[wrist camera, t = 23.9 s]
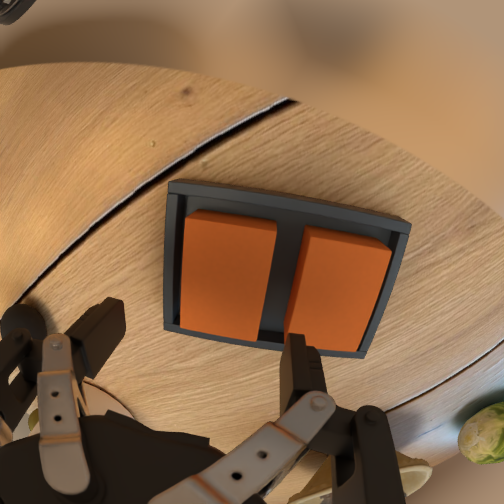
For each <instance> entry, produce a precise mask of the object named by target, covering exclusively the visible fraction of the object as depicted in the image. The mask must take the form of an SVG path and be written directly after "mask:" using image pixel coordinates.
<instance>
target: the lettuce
mask: <svg viewBox="0 0 504 504" xmlns="http://www.w3.org/2000/svg"><path fill="white" fill-rule="evenodd" d="M458 446H459V450H460V451H461V452H462V454H463V455H464V456H466V458H467V459H468V460H470V461H472V462H475V463H477V464H488V463H489V464H490V463H499V462H502V461H504V402H499V403H496V404H493V405H489V406H487V407H485V408H483V409H482V410H480V411H479V412H478V413H476V414H475V415H474V416H473V417H471V418H470V419H469V420H467V421H466V423H465V424H464V425H463V427H462V428H461V430H460V433H459V435H458Z"/></svg>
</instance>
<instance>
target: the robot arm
mask: <svg viewBox="0 0 504 504" xmlns="http://www.w3.org/2000/svg"><path fill="white" fill-rule="evenodd" d="M19 1H20V0H0V16H3V15H5V14H7V13H8V12H9V11H11V10H12V9H13V8H14V7H15V6H16V5H17V4H18V3H19ZM125 331H126V322H125V312H124V303H123V301H122V300H119V299H115V298H112V297H107V298H106V299H105V300H104V301H103V302H102V303H101V304H97V305H94V306H92V307H90V308H89V309H88V310H87V311H86V312H85V313H84V315H82V316H81V317H80V318H79V319H78V320H77V321H76V322H75V323H74V324H73V325H72V326H71V327H70V328H69V329H68V330H67V331H66V332H65V333H64V334H62V333H55V334H51V335H49V336H47V337H46V338H45V339H44V340H37V339H32V337H31V334H30V332H29V330H27V329H25V328H16V329H14V330H12V331H10V332H9V333H8V334H7V335H6V336H5V337H4V338H3V339H2V340H1V341H0V504H266V502H265V501H264V500H263V499H264V498H265V497H266V496H267V495H268V494H269V493H270V492H271V491H272V490H273V489H274V488H275V487H276V486H277V485H278V484H279V483H280V482H281V481H282V480H283V479H284V478H285V476H286V475H287V474H288V473H289V472H290V471H291V470H292V469H293V468H294V467H295V466H296V465H297V464H298V463H299V462H300V461H301V460H302V458H303V457H304V456H305V455H306V454H307V453H308V452H309V451H310V450H315V451H318V452H321V453H325V454H329V455H331V476H332V504H406V503H405V497H404V491H403V485H402V480H401V475H400V470H399V465H398V461H397V456H396V452H395V447H394V443H393V439H392V435H391V431H390V427H389V423H388V419H387V416H386V414H385V413H384V412H383V411H382V410H381V409H380V408H378V407H375V406H371V405H366V406H362V407H360V408H359V409H358V410H357V411H356V412H355V411H352V410H348V409H344V408H341V407H339V406H337V405H336V403H335V401H334V399H333V398H332V397H331V396H330V395H328V393H327V388H326V383H325V378H324V372H323V367H322V363H321V357H320V353H319V352H318V351H317V349H316V348H315V347H314V346H307V345H306V339H305V335H304V334H297V333H288V335H287V338H286V342H285V346H284V349H283V353H282V356H281V361H280V418H278V419H277V420H276V421H275V422H271V421H269V422H267V423H266V424H264V425H263V426H262V427H261V428H260V429H258V430H257V431H256V432H255V433H253V434H252V435H251V436H250V437H248V438H247V439H246V440H245V441H243V442H242V443H241V444H240V445H238V446H237V447H236V448H234V449H233V450H232V451H230V452H229V453H228V454H225V453H223V452H222V451H220V450H218V449H217V448H215V447H212V446H210V445H209V441H210V438H206V437H201V436H197V435H192V434H188V433H183V432H165V431H154V430H152V429H150V428H148V427H146V426H144V425H143V424H141V423H139V422H138V421H136V420H134V419H133V418H131V417H128V416H125V415H122V414H120V413H117V412H114V411H112V410H109V409H108V410H107V412H106V413H105V415H90V413H89V408H88V404H87V399H86V394H85V388H84V383H83V378H84V377H85V376H86V377H88V378H91V379H93V380H94V378H95V377H96V375H97V374H98V372H99V371H100V369H101V368H102V367H103V365H104V364H105V362H106V361H107V359H108V358H109V357H110V355H111V354H112V352H113V351H114V350H115V348H116V347H117V345H118V344H119V343H120V341H121V340H122V339H123V337H124V335H125ZM17 366H18V368H19V370H20V372H19V373H18V375H17V376H16V377H15V379H14V380H13V381H12V382H11V384H10V385H9V383H8V379H9V376H10V374H11V373H12V372H13V371H14V369H15V368H16V367H17ZM36 396H38V414H39V426H40V433H37V434H34V435H31V436H28V437H25V438H23V439H19V440H16V441H13V442H12V440H13V431H14V430H15V428H16V427H17V425H18V423H19V422H20V420H21V419H22V417H23V415H24V414H25V412H26V411H27V409H28V408H29V406H30V405H31V403H32V402H33V400H34V399H35V397H36Z"/></svg>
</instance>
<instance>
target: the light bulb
mask: <svg viewBox="0 0 504 504" xmlns="http://www.w3.org/2000/svg"><path fill="white" fill-rule="evenodd" d="M16 328H25V329H27V330H29V332H30V334H31V337H32V339H37V340H44V339H45V338H46V337H47V330H46V326H45V323H44V320H43V318H42V317H41V315H40V314H39V313H38V312H37V311H36V310H35V309H34V308H32V307H31V306H29V305H26V304H16V305H13V306H11V307H9V308H8V309H7V310H6V311H5V313H4V314H3V316H2V319H1V324H0V332H1V336H2V339H3V338H4V337H5V336H6V335H7V334H8V333H9V332H10V331H12V330H14V329H16Z"/></svg>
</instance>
